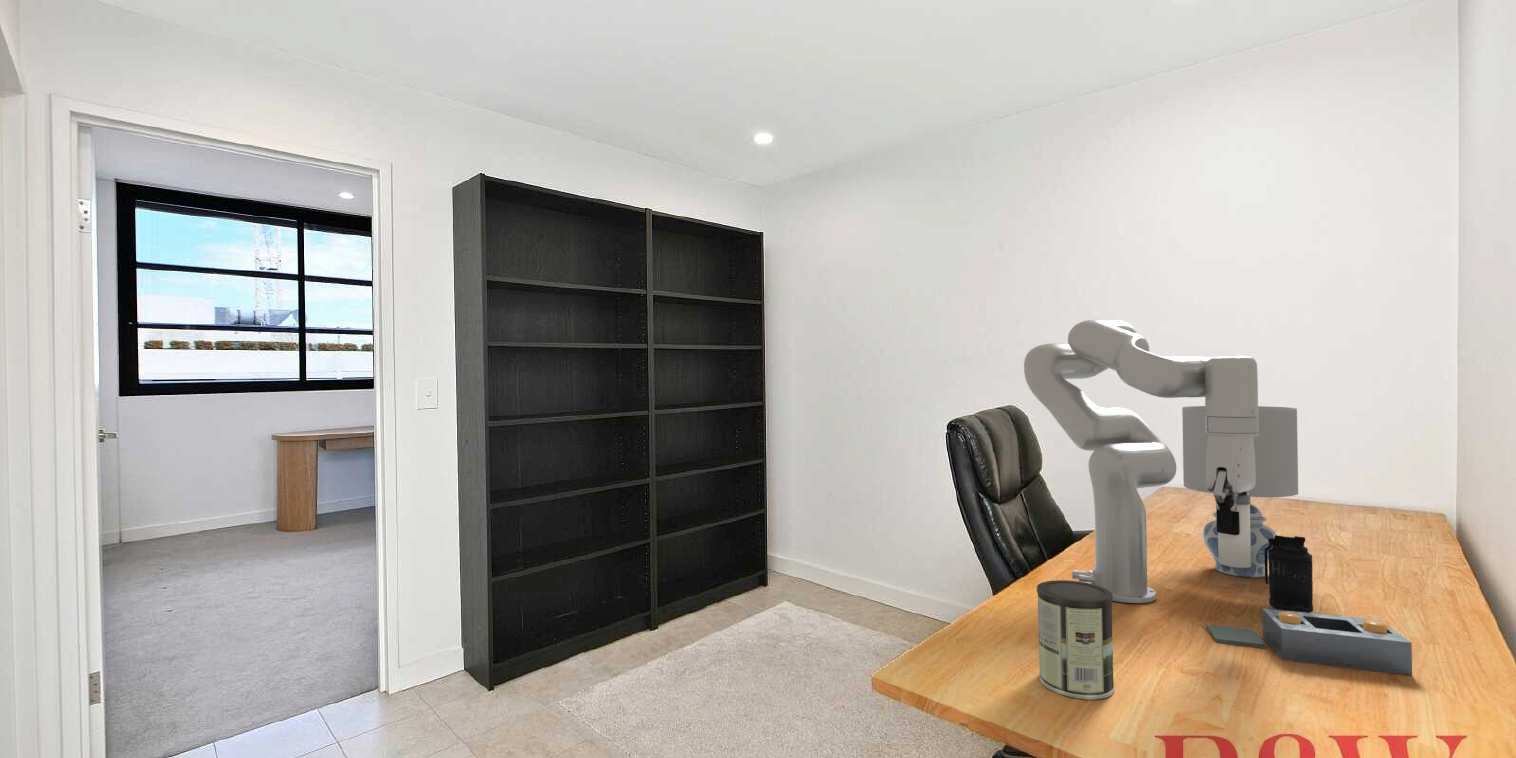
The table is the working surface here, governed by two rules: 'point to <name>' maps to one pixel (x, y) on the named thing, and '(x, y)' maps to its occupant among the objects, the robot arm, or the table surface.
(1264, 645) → the mat
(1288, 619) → the plunger left
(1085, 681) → the coffee can
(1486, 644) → the table surface
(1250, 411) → the robot arm
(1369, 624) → the plunger right
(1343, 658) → the housing
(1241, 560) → the ball
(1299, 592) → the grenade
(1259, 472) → the lamp
